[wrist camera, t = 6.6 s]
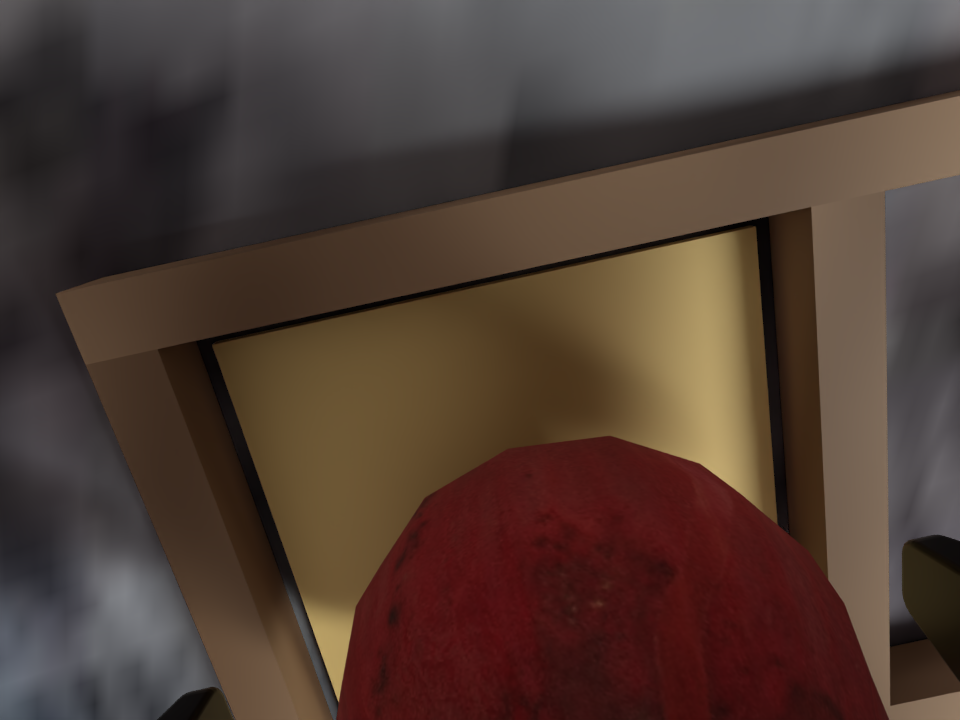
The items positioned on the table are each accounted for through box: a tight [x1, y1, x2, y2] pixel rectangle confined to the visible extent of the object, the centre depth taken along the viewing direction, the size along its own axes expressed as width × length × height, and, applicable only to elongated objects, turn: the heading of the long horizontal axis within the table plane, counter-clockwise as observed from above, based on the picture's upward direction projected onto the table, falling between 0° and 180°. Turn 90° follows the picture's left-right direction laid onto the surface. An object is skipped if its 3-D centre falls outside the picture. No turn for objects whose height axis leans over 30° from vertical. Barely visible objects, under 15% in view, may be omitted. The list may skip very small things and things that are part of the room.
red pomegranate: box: [336, 436, 889, 720], centre depth 7 cm, size 6×6×8 cm
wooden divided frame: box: [56, 90, 960, 720], centre depth 10 cm, size 21×11×1 cm, turn 102°
